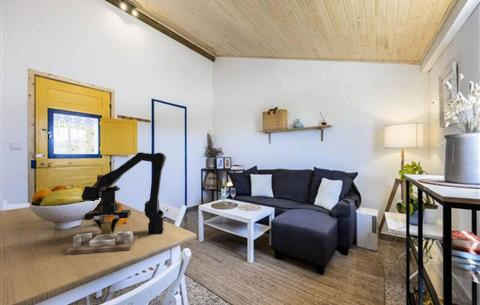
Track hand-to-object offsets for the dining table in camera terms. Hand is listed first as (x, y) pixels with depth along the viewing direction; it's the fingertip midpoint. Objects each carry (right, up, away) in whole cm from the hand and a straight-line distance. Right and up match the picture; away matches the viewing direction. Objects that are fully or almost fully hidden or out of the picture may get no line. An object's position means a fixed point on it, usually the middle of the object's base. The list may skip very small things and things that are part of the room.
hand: (108, 232), depth 105 cm
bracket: (-5, -1, +15) cm, 16 cm away
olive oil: (-22, 0, +28) cm, 36 cm away
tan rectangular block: (0, -1, 0) cm, 1 cm away
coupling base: (+6, -1, -12) cm, 14 cm away
